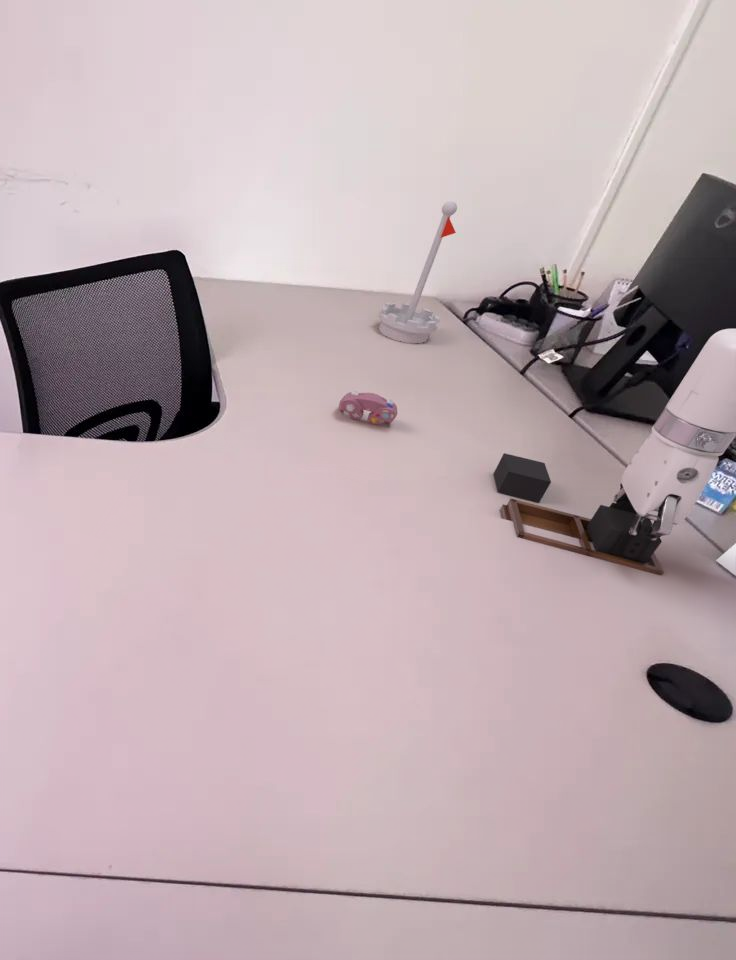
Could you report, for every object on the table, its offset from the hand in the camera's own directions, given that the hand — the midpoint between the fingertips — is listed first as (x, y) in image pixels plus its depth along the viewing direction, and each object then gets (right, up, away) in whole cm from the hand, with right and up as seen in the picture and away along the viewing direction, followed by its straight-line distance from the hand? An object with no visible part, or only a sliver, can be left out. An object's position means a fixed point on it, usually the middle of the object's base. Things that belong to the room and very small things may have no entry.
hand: (617, 541), depth 93 cm
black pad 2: (0, 0, 0) cm, 1 cm away
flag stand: (+1, +43, +67) cm, 80 cm away
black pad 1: (-5, +7, +14) cm, 17 cm away
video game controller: (-24, +19, +29) cm, 42 cm away
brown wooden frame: (-4, -1, +3) cm, 5 cm away
